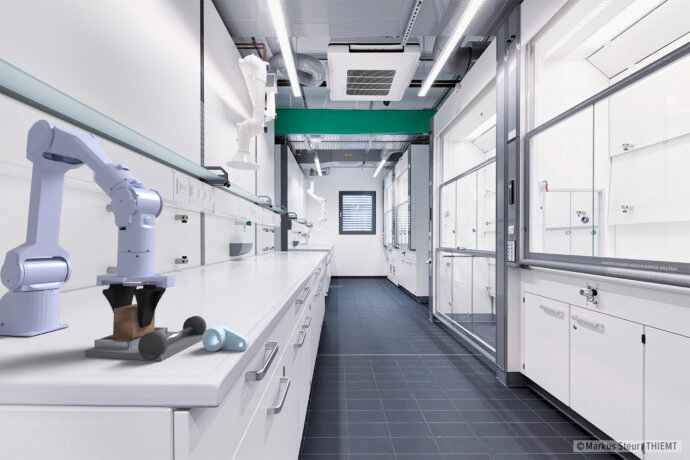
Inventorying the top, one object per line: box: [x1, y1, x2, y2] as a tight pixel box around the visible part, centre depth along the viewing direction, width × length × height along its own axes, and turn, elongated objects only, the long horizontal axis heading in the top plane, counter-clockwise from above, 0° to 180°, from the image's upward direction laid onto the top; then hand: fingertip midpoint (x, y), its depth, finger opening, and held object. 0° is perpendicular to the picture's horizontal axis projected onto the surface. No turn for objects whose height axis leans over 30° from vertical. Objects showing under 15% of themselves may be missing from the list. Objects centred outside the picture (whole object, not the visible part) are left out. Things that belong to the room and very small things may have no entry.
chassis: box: [84, 315, 207, 362], centre depth 57 cm, size 14×12×4 cm
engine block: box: [112, 303, 156, 339], centre depth 58 cm, size 4×5×5 cm
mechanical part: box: [201, 324, 250, 352], centre depth 55 cm, size 8×2×4 cm, turn 73°
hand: (133, 325), depth 57 cm, fingers closed on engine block, 4 cm apart
